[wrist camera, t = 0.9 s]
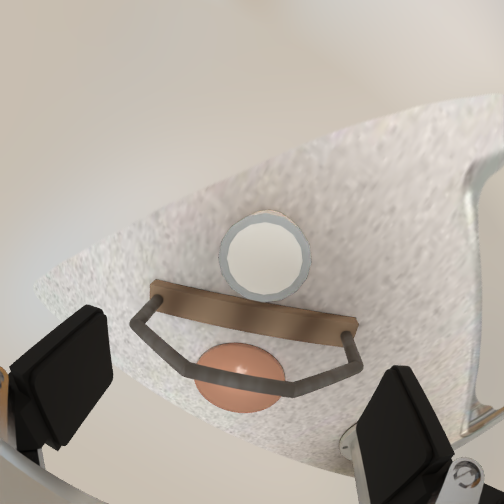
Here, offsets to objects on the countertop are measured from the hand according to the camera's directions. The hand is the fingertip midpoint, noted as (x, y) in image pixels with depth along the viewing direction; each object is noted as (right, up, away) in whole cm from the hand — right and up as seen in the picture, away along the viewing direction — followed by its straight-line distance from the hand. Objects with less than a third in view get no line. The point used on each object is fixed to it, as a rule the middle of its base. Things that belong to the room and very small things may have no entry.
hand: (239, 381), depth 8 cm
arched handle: (+1, -2, +22) cm, 22 cm away
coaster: (-1, -11, +24) cm, 27 cm away
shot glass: (+2, +5, +20) cm, 20 cm away
